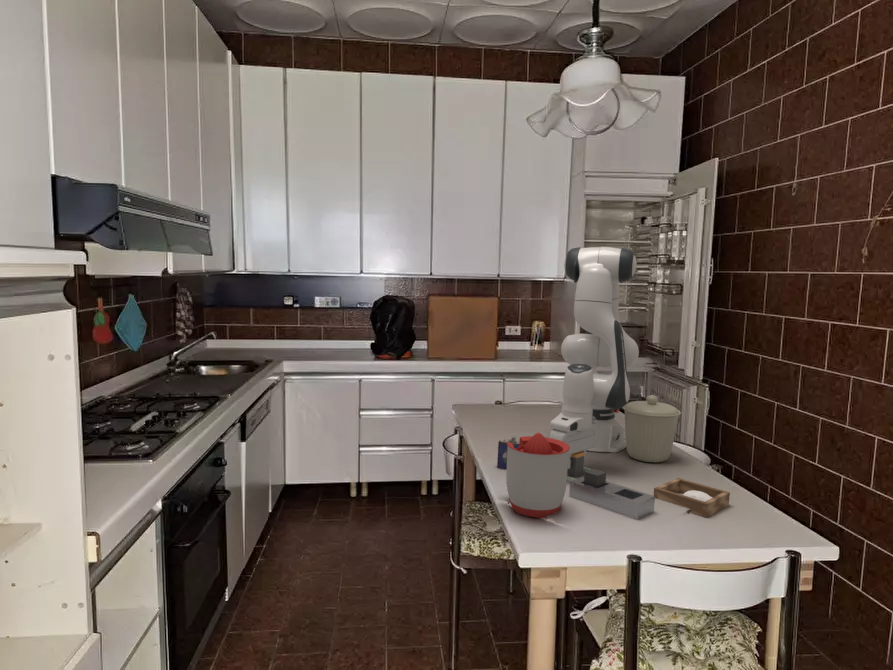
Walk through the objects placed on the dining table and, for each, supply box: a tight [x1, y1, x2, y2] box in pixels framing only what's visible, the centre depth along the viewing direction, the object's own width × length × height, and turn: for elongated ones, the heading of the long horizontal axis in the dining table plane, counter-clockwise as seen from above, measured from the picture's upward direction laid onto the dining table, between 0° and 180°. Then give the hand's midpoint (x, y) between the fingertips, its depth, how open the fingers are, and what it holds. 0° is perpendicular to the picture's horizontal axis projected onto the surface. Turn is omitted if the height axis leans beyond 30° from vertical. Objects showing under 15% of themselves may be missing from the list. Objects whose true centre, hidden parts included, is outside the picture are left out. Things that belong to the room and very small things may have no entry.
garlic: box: [682, 490, 713, 502], centre depth 164 cm, size 8×7×4 cm
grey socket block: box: [568, 475, 656, 520], centre depth 161 cm, size 8×20×5 cm, turn 43°
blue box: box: [496, 435, 519, 471], centre depth 187 cm, size 9×3×11 cm, turn 78°
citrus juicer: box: [503, 432, 570, 519], centre depth 157 cm, size 16×17×20 cm
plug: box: [567, 451, 585, 478], centre depth 183 cm, size 4×4×7 cm
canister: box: [622, 394, 682, 464], centre depth 204 cm, size 18×18×21 cm
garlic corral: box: [653, 477, 731, 519], centre depth 166 cm, size 13×14×4 cm
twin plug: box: [583, 468, 607, 488], centre depth 164 cm, size 4×4×7 cm
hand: (573, 466), depth 183 cm, fingers closed on plug, 4 cm apart
